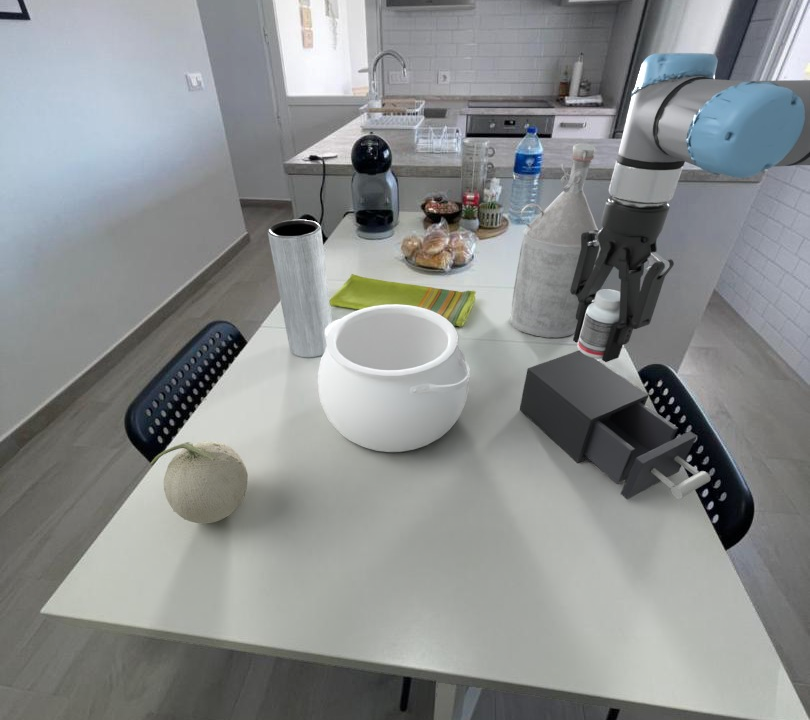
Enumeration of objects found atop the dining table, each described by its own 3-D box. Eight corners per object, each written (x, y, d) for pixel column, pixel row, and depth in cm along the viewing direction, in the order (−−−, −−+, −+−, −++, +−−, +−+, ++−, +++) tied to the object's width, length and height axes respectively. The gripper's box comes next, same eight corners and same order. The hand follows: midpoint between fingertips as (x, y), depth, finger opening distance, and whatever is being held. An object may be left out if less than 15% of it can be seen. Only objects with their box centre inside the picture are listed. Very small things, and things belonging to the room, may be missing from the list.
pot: (288, 417, 82) (272, 342, 72) (380, 351, 99) (377, 283, 89) (414, 494, 68) (414, 414, 58) (496, 402, 85) (507, 328, 75)
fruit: (186, 481, 70) (154, 410, 61) (260, 477, 71) (239, 405, 62) (161, 542, 61) (120, 469, 53) (246, 536, 62) (219, 463, 53)
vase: (299, 363, 95) (278, 241, 80) (283, 342, 102) (260, 225, 86) (342, 349, 100) (329, 230, 84) (323, 329, 106) (308, 216, 91)
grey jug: (505, 309, 114) (529, 137, 91) (576, 314, 111) (619, 139, 88) (505, 335, 104) (532, 150, 81) (583, 342, 101) (633, 152, 78)
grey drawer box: (631, 437, 77) (649, 394, 71) (577, 463, 72) (591, 419, 67) (570, 389, 88) (581, 349, 82) (519, 409, 83) (527, 368, 77)
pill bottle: (614, 362, 68) (632, 305, 62) (577, 356, 69) (592, 301, 64) (611, 343, 72) (628, 288, 67) (576, 338, 74) (590, 284, 68)
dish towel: (463, 329, 106) (464, 318, 104) (328, 307, 115) (326, 296, 114) (476, 300, 118) (477, 289, 116) (352, 282, 127) (351, 271, 125)
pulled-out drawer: (709, 495, 66) (731, 459, 61) (656, 526, 62) (675, 490, 57) (610, 418, 79) (622, 384, 75) (561, 440, 75) (571, 405, 71)
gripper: (727, 214, 52) (661, 373, 65) (603, 179, 65) (570, 317, 79) (684, 224, 49) (625, 388, 63) (564, 185, 62) (537, 327, 76)
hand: (595, 348), depth 71 cm, fingers closed on pill bottle, 5 cm apart
